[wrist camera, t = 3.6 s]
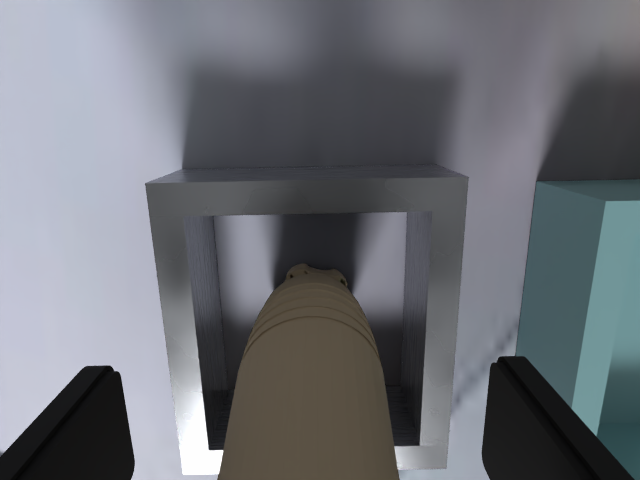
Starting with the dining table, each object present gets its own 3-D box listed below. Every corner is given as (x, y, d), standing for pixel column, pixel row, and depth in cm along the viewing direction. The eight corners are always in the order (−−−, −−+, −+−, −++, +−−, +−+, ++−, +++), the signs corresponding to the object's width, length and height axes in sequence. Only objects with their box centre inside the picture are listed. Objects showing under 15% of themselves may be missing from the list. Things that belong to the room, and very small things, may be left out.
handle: (406, 321, 18) (817, 1238, 3) (262, 372, 18) (60, 1344, 4) (367, 213, 16) (747, 924, 2) (214, 272, 17) (-367, 1154, 3)
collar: (181, 169, 16) (145, 183, 12) (436, 164, 16) (468, 176, 13) (206, 410, 19) (183, 474, 15) (422, 405, 19) (446, 468, 15)
